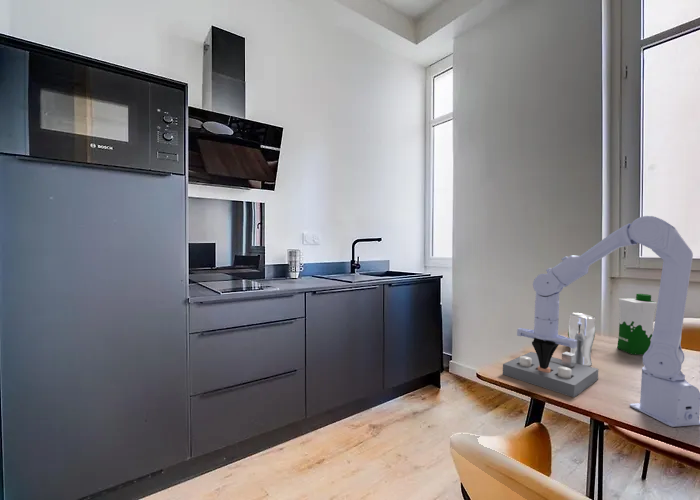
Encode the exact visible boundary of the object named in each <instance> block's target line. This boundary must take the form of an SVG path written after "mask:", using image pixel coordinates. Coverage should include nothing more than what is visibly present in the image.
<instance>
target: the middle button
mask: <svg viewBox="0 0 700 500" xmlns="http://www.w3.org/2000/svg"><path fill="white" fill-rule="evenodd" d="M538 370H539V371H543V372H546V373H550V370H551V368H550V367H548V368H546V369H543V368H540V366H538Z"/></svg>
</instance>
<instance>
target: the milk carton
mask: <svg viewBox="0 0 700 500" xmlns="http://www.w3.org/2000/svg"><path fill="white" fill-rule="evenodd" d="M635 295H636V296H635V298H627V297H625V298H618V305H619V323H618V324H619V326H618V327H619V328H618V337H617V338H618V340H617V347H616V348H617V349H618V350H621V351H623V352H625V353H628V354H630V355H642V356H643V355H644V354H645V352H646V351H647V350H648V349H649V346H650V344H651V339H652V335H653V331H654V324H655V314H656V310H657V303H658V302H656V301H653V300H652V294H647V293H636V294H635Z"/></svg>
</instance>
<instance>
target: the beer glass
mask: <svg viewBox="0 0 700 500" xmlns="http://www.w3.org/2000/svg"><path fill="white" fill-rule="evenodd" d="M568 320H569V321H568V328H569V337H568V338H571V339H575V340H577V347H576V348H574V349H573V348H570V353H574V354H575V363H577V364H581V365H585V366H589V367H592V364H593V363H592V362H593V361H592V356H591V355H592V350H593V349H592V348H593V345H594V341H595V337H596V316H594V315H591V314H588V313H581V312H580V313H579V312H572V313H570V314H569V319H568Z"/></svg>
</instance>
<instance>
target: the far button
mask: <svg viewBox="0 0 700 500" xmlns="http://www.w3.org/2000/svg"><path fill="white" fill-rule="evenodd" d="M519 357H520V365H522V366H525V367H531V363H532V359H531V358H530V357H526V356H522V355H520V356H519Z"/></svg>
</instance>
